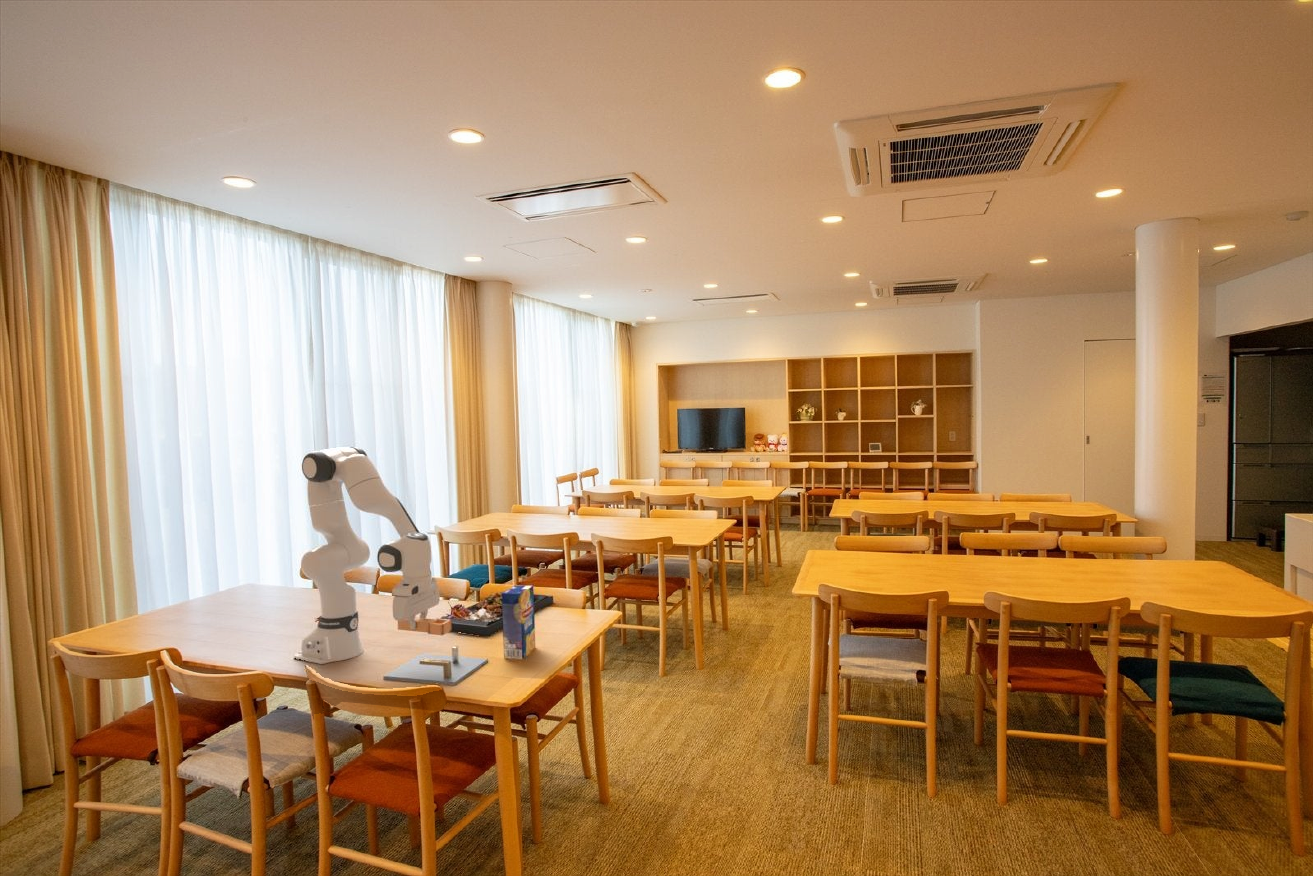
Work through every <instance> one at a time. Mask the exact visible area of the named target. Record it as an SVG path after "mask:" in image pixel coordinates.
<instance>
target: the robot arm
mask: <svg viewBox="0 0 1313 876" xmlns="http://www.w3.org/2000/svg"><path fill="white" fill-rule="evenodd" d="M301 470H302V473H303V476H304V477H305V479H307V487H306V488H307V502H308V506H309V507H308V508H309V513H310V518H311V523H312V524H311V525H312V528H313V529H314V531H316V532H317V533H320V534H321V535H322V536H323V537H324V538H325V540H326V542H327V544H324V545H319V546H316V547H315V548H312V549H310V550H309V551H307V552H305V554H303V556H302V558H301V560H300V561H301V562H300V568H301V571H302V573H303V575H305V576H306V578H308V579H309V580H311V581H312V582H313V583H314V584H315V586H316V588H317V591H318V594H319V599H320V609H321V612H320V613H321V615H320V616H319V617H316V618H315V620H314V622H315V623H316V622H317V626H316V627H315V628H314V629H313V630H312V631H310V633H308V634H307V635H305V636H304V638H303V640H302V643H301V649H300V650H299V651H298V652H296V653H295V654H294V656H293V658H296V659H295V660H299V659H301V660H300V661H304V660H305V661H304V662H310V663H315V664H319V665H323V664H324V665H325V664H329V663H333V662H340V661H344V660H345V661H346V660H349V659H353V658H356V657H358V656H360V655H361V654H363V653H364V647H363V645H362V641H361V638H360V632H359V611H358V610H357V609H358V608H357V591H356V589H355V588H354V587H353V586H352V585H350V584H348V583H347V581H346V579H345V573H348V572H350V571H354V570H357V569H358V568H360V567H362V566H363V565H365V564H366V563H367V562H368V561H369V559H370V556H371V555H370V554H371V551H370V547H369V545H368V544H367V542H366V541H365V540H363V539H361V538H360V537H359V536H358V535H357V534H356V532H355V531H354V529H353V527H352V526H351V523H350V521H349V517H348V513H347V509H346V504H345V499H344V498H345V497H344V494H343V488H342V487H343V484H344V486H345V489H346V491H347V494H348V496H349V499H350V500H351V502H352V504H353V505H354V507H355V508H357V509H358V510H360V511H362V512H365V513H369V514H374V515H378V516H381V517H384V518H385V519H387V520H389V522H390V523H392V525H393V527H394V529H395V531H396V532H397V534H398V535H399V537H400V538H399V539H397V540H396V539H395V540H393V541H390V542H387V543H384V544H383V545H381V546H380V548H379V549H378V552H377V554H376V555H377V556H376V557H377V563H378V566H379V567H380V568H381V570H383V571H384V572H386V573H396V572H401V573H402V574H401V575H402V579H401V580H400V581H399V582H398V583H397V584H396V585H395V586H394V587H393V588H392V591H391V594H392V596H394V597H393V598H392V599H393V600H392V617H393V619H394V620H395V621H396V622H398V621H405V620H408V622H409V623H410V629H415V628H417V622H415V620H414V619H415V618H416V616H417V615H419V618H425V619H427V616H428V613H429V610H430V609H431V608H434V607H435V606H437V605H439V603H440V601H441V600H440V598H441V597H440V589H439V585H438V582H437V579H436V578H435V577H432V575H433V574H432V569H431V564H432V546H431V541H430V538H429V536H428V535H427V534H425V533H422V532H421V531H419V529H418V527H417V526H416V524H415V523H414V521H413V520H412V518H411V516H410V515H409V513H408V511H407V509H406V508H405V506H404V505H403V504H402V503H401V501H400V499H398V498H397V497H396V496H394V495H393V494H392V493H391V492H390V490H389V489H388V488H387V487H386V485H385V483H384V482H383V480H382V478H381V476H380V474H379V472H378V470H377V469H376V467H375V465H374V463H373V462H372V461H371V460H370V458H369V457H368V455H367V452H366V451H365V450H363V449H362V448H360V447H356V446H355V447H354V446H349V447H333V448H329V449H328V448H327V449H322V450H314V451H312V452H311V451H310V453H307V454H306V455H305V456H304V457H303V459H302V463H301Z"/></svg>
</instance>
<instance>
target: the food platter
mask: <svg viewBox="0 0 1313 876" xmlns="http://www.w3.org/2000/svg"><path fill="white" fill-rule="evenodd" d="M505 591H506V590H504V591H501V592H499V593H498V592H494V593H493V594H489V595H486V596H484V600H481V601H479V602H476V603H474V604H472V605H470V606H468V607H465V605H463V604H460V603H459V604H458V603H457V604H454V605H453V606H452V605H451V604H450V601H447V603H448V605H449V607H450V609H449V610H447V611H449V612H450V614H449V613H446V616H445V615H444V616H441V617H440V618H439V619H448V620H452V630H451V631H449V633H458V632H461V633H466V634H473V635H472V636H474V635H479V636H478V637H483V636H489V637H490V636H492V635H494V634H496V633H499V632H500V631H499V630H501V629H502V630H503V618H502V593H503V592H505ZM552 604H554V596H553V595H547V594H539V593H538V594H536V593H534V614H535V613H537V612H539V611H540V610H539V609H541V610H542V609H545V608H546V607H549V606H550V605H552ZM538 610H539V611H538ZM536 611H537V612H536ZM502 630H501V631H502ZM498 631H499V632H498ZM495 632H496V633H495ZM493 633H494V634H493ZM466 634H465V635H466ZM491 634H492V635H491Z"/></svg>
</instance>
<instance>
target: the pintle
mask: <svg viewBox="0 0 1313 876" xmlns="http://www.w3.org/2000/svg"><path fill="white" fill-rule="evenodd" d="M451 656H452V663H458V662H459V658H458V657H459V646H457V645H453V646H451Z"/></svg>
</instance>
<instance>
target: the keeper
mask: <svg viewBox="0 0 1313 876" xmlns="http://www.w3.org/2000/svg"><path fill="white" fill-rule="evenodd" d="M420 664H423V665H435V666H443V673H444V678H445V679H448V678H450V677H451V676H452V672H451V661H446V660H433V659H422V660H420Z"/></svg>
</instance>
